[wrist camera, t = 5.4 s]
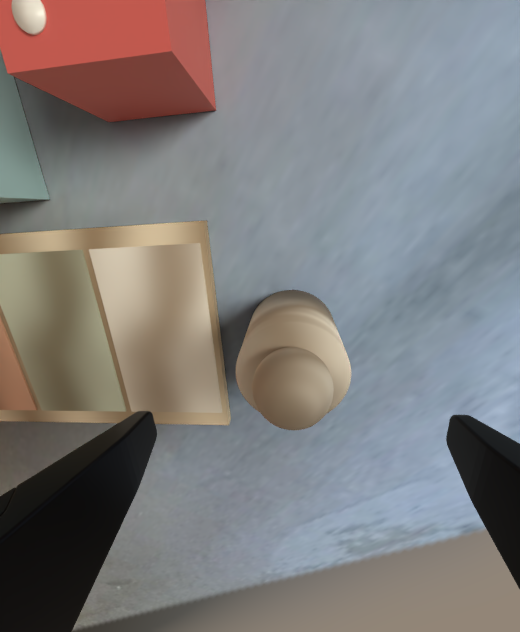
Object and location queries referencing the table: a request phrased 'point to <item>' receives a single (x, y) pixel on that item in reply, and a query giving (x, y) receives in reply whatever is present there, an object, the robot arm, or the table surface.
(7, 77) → the housing
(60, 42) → the red die
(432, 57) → the table surface
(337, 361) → the pawn
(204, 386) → the game board
